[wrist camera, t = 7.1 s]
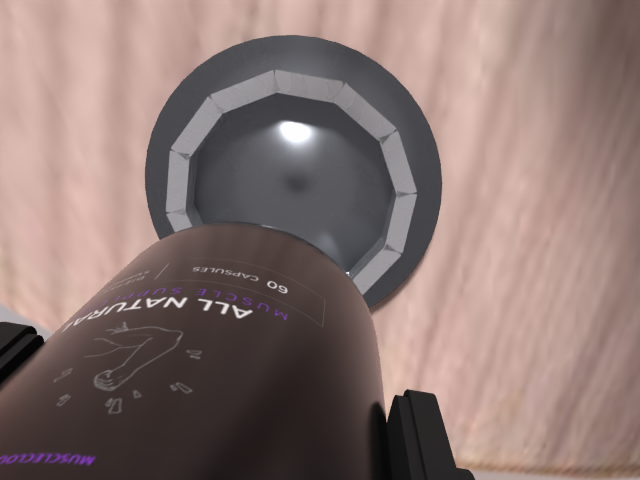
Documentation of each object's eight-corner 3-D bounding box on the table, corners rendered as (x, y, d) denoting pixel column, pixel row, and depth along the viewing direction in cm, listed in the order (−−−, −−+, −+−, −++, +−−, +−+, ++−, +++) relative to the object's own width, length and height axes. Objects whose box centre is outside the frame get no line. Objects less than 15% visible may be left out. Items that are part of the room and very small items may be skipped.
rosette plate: (161, 9, 25) (140, 3, 22) (472, 67, 25) (487, 67, 23) (145, 292, 30) (127, 314, 28) (401, 335, 31) (407, 361, 28)
